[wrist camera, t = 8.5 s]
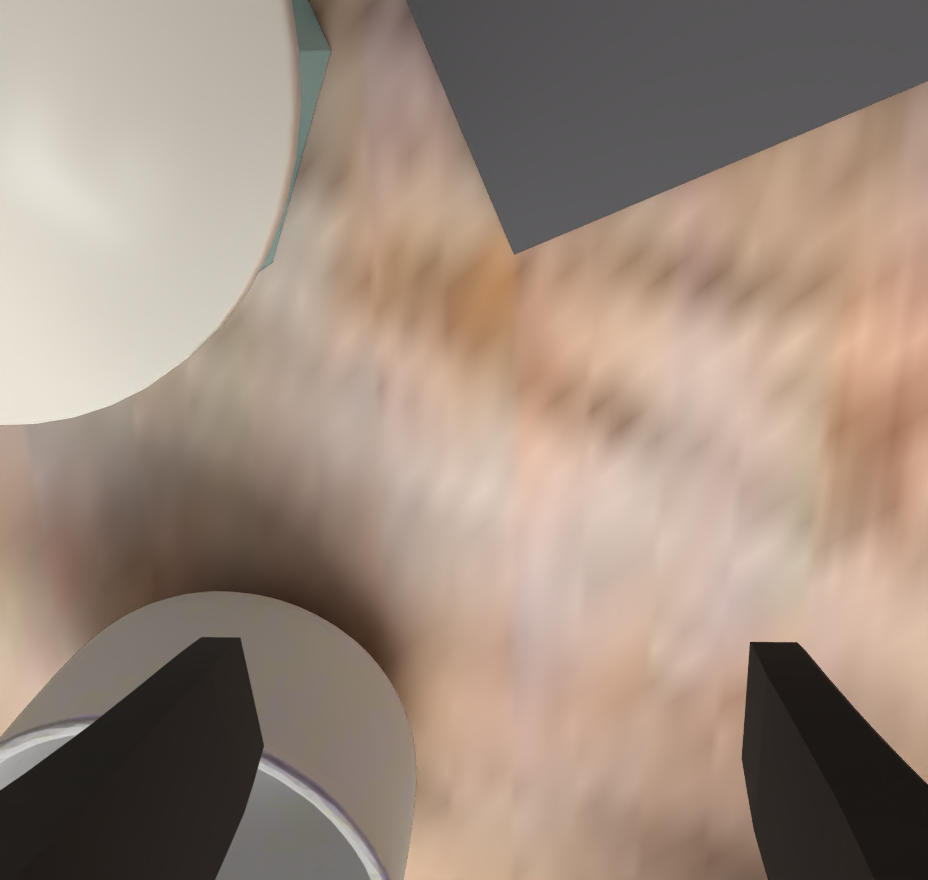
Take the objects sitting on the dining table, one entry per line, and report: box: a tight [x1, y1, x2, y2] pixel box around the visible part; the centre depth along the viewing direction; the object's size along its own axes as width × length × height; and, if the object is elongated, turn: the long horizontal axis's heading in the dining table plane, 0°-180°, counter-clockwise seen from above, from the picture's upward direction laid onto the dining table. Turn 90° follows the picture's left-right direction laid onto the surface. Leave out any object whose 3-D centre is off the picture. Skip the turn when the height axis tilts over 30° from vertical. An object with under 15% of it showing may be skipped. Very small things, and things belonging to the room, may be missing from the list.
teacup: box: [0, 591, 416, 880], centre depth 23 cm, size 14×11×8 cm
